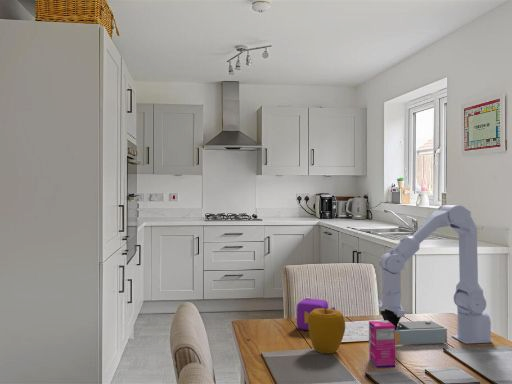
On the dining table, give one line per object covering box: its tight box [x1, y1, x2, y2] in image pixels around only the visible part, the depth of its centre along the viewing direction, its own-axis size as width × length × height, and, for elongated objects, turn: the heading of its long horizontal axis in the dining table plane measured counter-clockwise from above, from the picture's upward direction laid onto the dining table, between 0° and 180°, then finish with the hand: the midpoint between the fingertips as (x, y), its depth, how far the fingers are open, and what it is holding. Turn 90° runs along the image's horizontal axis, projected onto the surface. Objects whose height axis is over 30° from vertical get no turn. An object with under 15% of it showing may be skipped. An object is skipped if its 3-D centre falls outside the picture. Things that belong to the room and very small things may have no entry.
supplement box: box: [368, 319, 397, 369], centre depth 134 cm, size 6×6×12 cm
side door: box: [395, 327, 448, 346], centre depth 150 cm, size 18×1×4 cm, turn 99°
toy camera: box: [296, 296, 336, 331], centre depth 169 cm, size 11×14×10 cm
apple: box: [308, 308, 346, 355], centre depth 145 cm, size 11×11×13 cm
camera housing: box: [396, 320, 445, 346], centre depth 156 cm, size 13×8×6 cm, turn 99°
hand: (391, 334), depth 154 cm, fingers closed
